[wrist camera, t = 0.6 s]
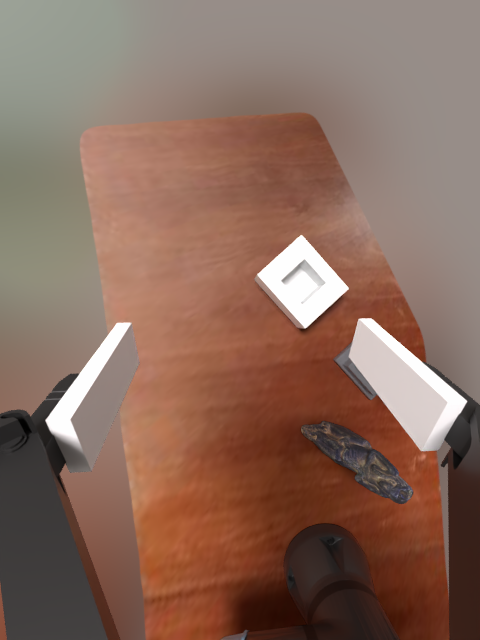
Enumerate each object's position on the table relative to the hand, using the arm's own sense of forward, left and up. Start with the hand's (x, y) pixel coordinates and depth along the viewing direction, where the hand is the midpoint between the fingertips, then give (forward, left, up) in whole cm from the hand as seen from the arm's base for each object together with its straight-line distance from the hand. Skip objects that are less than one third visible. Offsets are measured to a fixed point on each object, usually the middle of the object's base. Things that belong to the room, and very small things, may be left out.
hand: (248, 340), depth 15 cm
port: (-2, -13, -32) cm, 35 cm away
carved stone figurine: (-27, +1, -32) cm, 42 cm away
